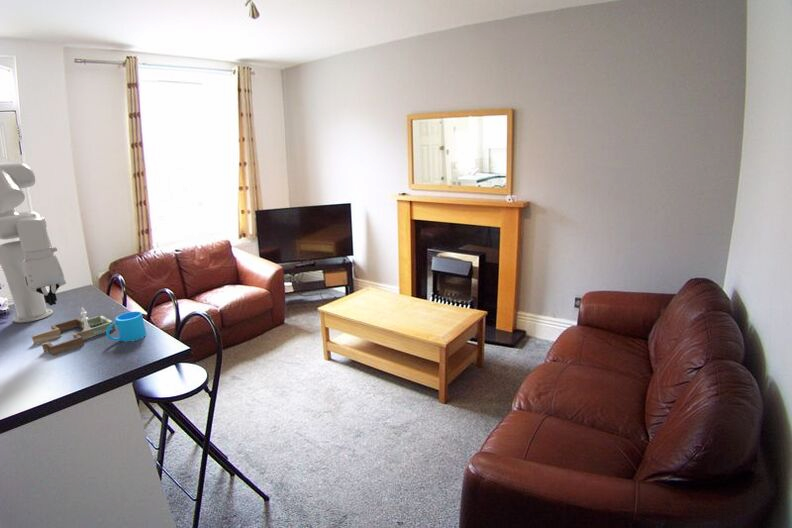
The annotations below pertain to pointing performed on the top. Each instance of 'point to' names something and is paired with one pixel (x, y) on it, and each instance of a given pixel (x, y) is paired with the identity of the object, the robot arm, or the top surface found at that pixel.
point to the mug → (128, 326)
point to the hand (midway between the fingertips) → (51, 303)
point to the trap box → (77, 336)
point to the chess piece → (84, 319)
